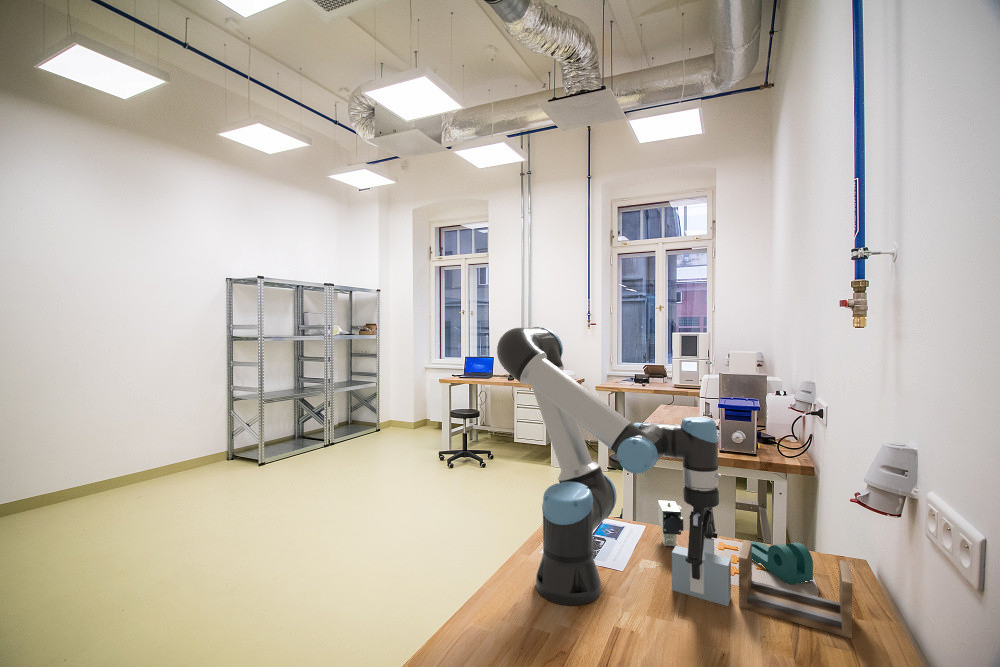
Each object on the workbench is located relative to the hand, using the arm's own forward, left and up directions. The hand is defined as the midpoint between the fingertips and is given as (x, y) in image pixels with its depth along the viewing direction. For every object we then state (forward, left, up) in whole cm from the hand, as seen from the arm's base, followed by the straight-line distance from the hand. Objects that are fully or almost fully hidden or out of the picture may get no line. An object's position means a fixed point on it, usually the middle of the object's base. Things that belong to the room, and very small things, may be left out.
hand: (703, 578), depth 109 cm
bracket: (+13, +24, -4) cm, 27 cm away
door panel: (0, 0, -4) cm, 4 cm away
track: (+18, +4, -4) cm, 18 cm away
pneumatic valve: (-12, +22, -4) cm, 26 cm away
